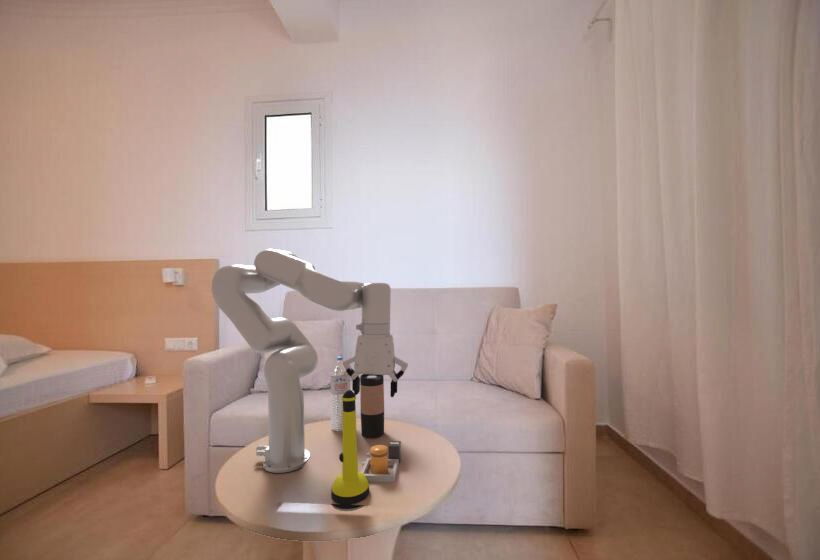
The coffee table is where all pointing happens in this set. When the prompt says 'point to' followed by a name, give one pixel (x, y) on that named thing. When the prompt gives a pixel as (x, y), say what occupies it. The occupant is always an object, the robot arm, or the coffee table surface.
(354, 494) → the flashlight
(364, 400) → the travel mug
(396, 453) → the breaker toggle
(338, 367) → the water bottle
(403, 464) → the coffee table surface
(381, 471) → the cap
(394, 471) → the board
